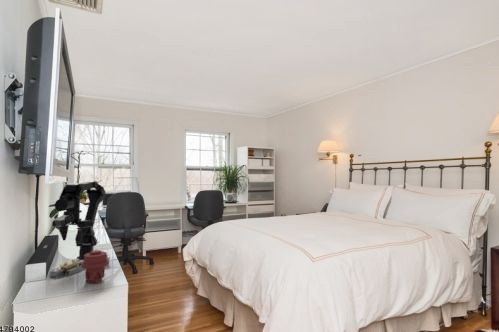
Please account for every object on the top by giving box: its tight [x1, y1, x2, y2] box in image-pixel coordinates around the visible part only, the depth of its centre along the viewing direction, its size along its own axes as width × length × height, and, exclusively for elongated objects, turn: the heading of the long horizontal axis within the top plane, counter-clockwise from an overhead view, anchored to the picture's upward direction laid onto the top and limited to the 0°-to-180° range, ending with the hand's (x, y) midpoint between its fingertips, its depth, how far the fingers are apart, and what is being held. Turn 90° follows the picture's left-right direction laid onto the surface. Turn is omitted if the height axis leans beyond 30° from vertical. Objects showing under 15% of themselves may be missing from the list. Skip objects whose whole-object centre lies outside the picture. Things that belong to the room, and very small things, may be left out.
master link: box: [59, 259, 80, 275], centre depth 131 cm, size 7×4×5 cm, turn 168°
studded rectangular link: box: [49, 259, 85, 279], centre depth 130 cm, size 16×9×3 cm, turn 168°
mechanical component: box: [81, 249, 110, 284], centre depth 119 cm, size 12×10×10 cm
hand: (72, 240), depth 140 cm, fingers open, 9 cm apart
